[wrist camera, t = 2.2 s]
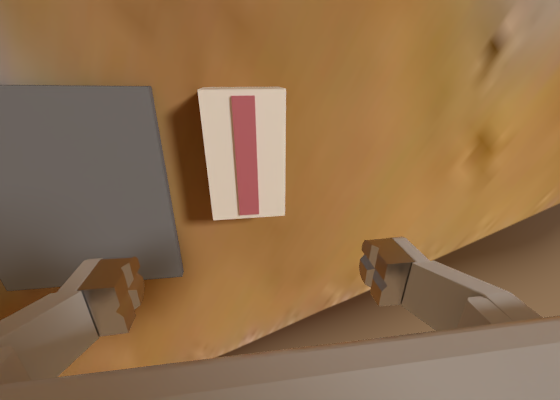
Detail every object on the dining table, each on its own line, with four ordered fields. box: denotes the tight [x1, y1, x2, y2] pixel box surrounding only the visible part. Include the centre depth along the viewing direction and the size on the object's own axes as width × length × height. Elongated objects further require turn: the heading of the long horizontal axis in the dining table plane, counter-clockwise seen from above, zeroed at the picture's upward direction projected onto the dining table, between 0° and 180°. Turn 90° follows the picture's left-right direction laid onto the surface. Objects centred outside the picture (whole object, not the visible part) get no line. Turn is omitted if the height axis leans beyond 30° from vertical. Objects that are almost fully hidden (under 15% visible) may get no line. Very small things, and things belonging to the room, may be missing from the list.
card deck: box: [197, 87, 286, 220], centre depth 22 cm, size 10×6×4 cm, turn 0°
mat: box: [0, 85, 184, 291], centre depth 23 cm, size 18×16×1 cm
